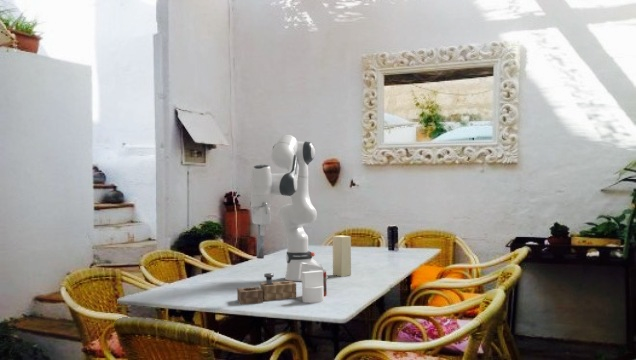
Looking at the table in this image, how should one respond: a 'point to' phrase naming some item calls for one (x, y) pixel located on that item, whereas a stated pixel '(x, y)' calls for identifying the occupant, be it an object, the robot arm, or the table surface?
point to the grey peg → (260, 245)
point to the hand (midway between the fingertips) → (261, 235)
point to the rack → (249, 295)
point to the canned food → (323, 279)
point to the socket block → (279, 290)
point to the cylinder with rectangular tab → (312, 286)
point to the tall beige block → (341, 255)
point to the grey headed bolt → (269, 278)
